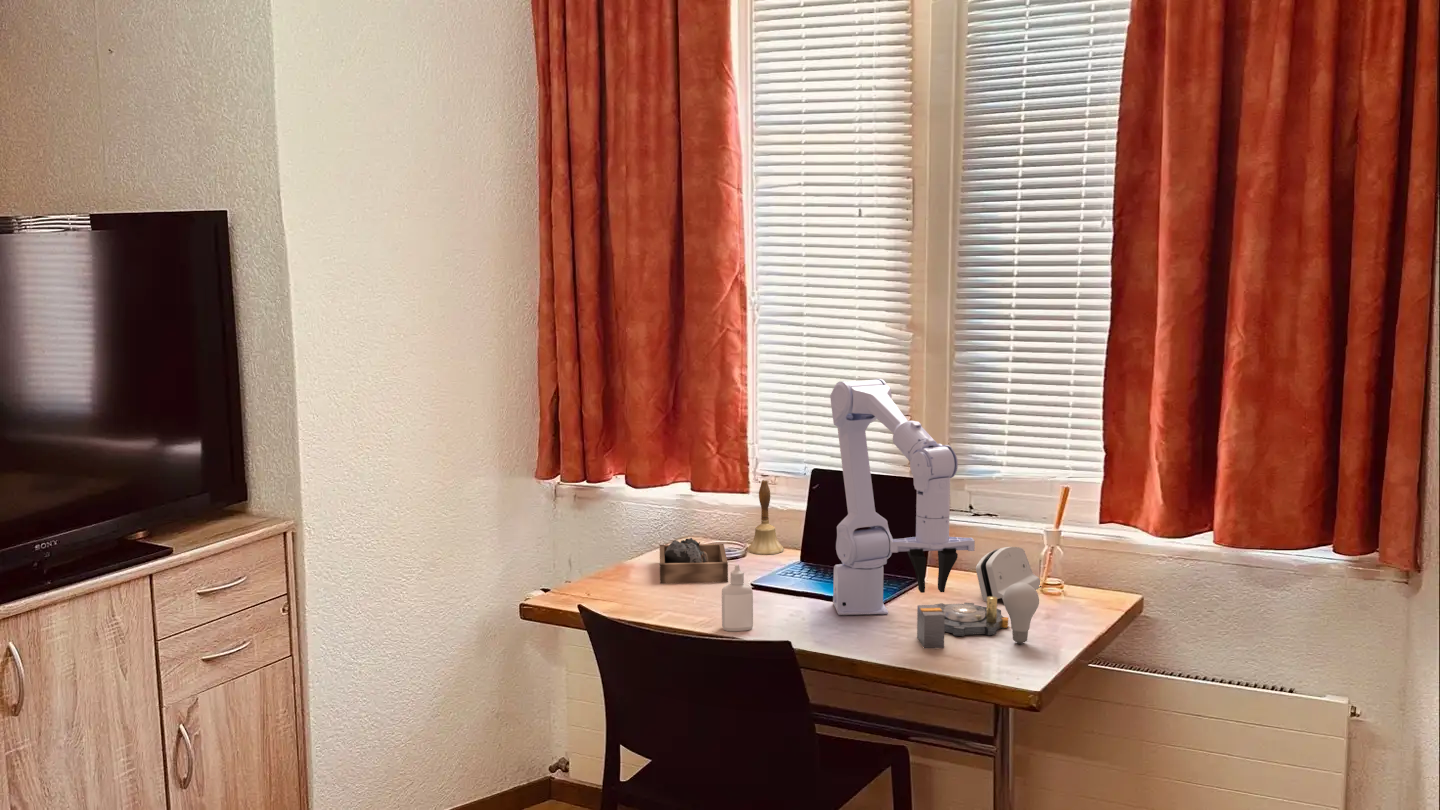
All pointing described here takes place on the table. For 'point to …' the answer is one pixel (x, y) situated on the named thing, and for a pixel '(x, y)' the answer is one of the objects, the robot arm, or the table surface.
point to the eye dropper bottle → (737, 603)
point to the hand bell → (765, 528)
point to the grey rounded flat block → (1004, 571)
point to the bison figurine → (685, 552)
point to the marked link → (930, 626)
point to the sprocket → (985, 627)
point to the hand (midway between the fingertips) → (931, 590)
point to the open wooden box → (696, 567)
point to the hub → (964, 613)
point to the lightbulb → (1020, 609)
